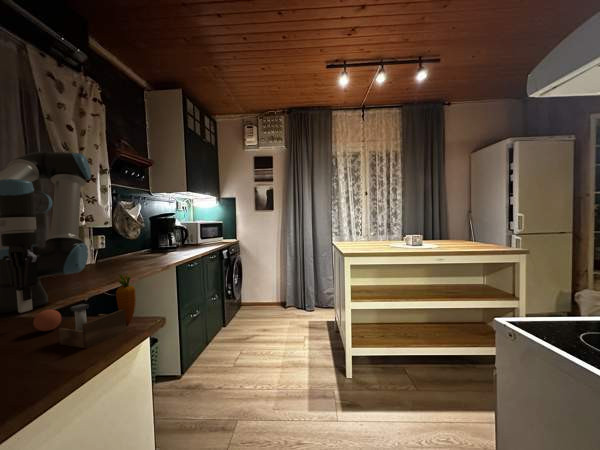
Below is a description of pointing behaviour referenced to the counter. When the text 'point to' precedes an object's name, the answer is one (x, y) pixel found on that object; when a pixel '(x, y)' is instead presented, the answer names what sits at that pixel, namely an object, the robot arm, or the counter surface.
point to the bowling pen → (95, 330)
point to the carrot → (126, 298)
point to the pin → (80, 315)
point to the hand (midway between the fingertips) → (25, 310)
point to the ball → (47, 320)
